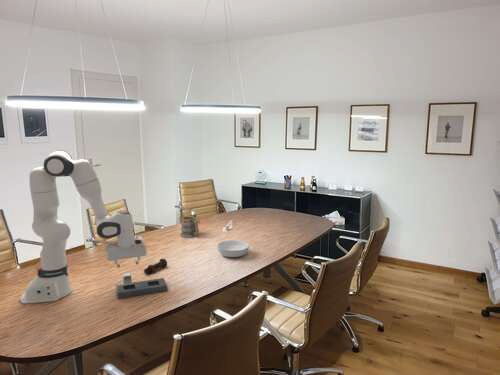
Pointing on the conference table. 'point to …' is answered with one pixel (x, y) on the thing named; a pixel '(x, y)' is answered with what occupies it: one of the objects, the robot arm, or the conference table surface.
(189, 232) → the tankard
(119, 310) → the conference table surface
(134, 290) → the grey slotted board
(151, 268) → the bolt
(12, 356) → the conference table surface
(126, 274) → the wood grain block
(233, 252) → the serving bowl
